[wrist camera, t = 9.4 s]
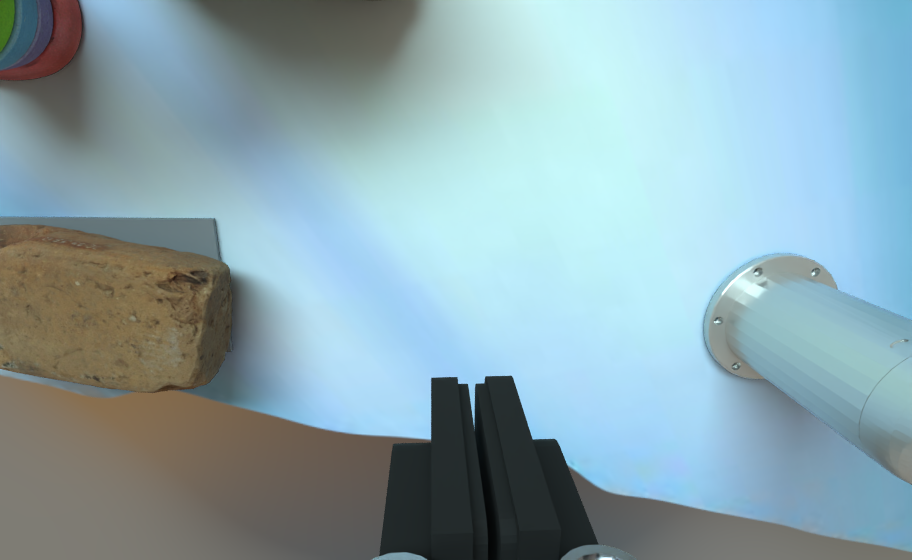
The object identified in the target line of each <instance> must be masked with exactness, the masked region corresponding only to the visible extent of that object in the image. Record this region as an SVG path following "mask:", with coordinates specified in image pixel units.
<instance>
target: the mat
mask: <svg viewBox="0 0 912 560" xmlns="http://www.w3.org/2000/svg"><path fill="white" fill-rule="evenodd" d="M13 224H18V225H21V224H30V225H46V226H53V227H60V228H66V229H73V230H80V231H83V232H86V233H94V234H100V235H104V236H108V237H112V238H115V239H119V240H121V241H125V242H131V243H137V244H143V245H150V246H158V247H165V248H169V249H172V250H176V251H180V252H192V253H195V254H200V255H204V256H207V257H210V258H213V259H216V260H219V261H221V260H220V253H219V246H218V238H217V231H216V224H215V218H98V217H0V225H13ZM232 350H233V347H232V340H231V336H230V341H229V346H228V350H227V351H226V352H232Z"/></svg>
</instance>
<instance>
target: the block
mask: <svg viewBox="0 0 912 560" xmlns="http://www.w3.org/2000/svg"><path fill="white" fill-rule="evenodd" d="M230 282H231V278H230V269H229V267H228V265H226V264H225V263H223V262H221V261H219V260H216V259H213V258H210V257H207V256H204V255H200V254H195V253H192V252H180V251H176V250H172V249H169V248H165V247H158V246H150V245H143V244H137V243H131V242H125V241H121V240H119V239H115V238H112V237H108V236H104V235H100V234H94V233H86V232H83V231H80V230H73V229H66V228H60V227H53V226H46V225H30V224H21V225H18V224H13V225H0V369H3V370H8V371H12V372H17V373H23V374H28V375H33V376H39V377H44V378H50V379H56V380H63V381H69V382H74V383H80V384H86V385H92V386H97V387H102V388H109V389H121V390H129V391H134V392H148V393H155V392H160V391H168V390H183V389H194V388H196V387H198V386H201V385H206V384H208V383H209V382H210V381H211V380H212V379H213V377H214V376H215V375H216V374H217V372H218V371H219V368H220V366H221V364H222V363H223V361H224V360H225V353H226V351H227V350H228V346H229V341H230V336H231V328H232V316H231V314H232V306H231V305H232V292H231V289H230V286H229V284H230Z"/></svg>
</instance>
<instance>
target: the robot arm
mask: <svg viewBox="0 0 912 560" xmlns="http://www.w3.org/2000/svg"><path fill="white" fill-rule="evenodd" d="M704 336H705V342H706V345H707V347H708V350H709V352H710V354H711V355H712V356H713V358H714V359H715V360H716V361H717V362H718V363H719V364H720V365H721V366H722V367H723V368H725V369H726V370H728V371H729V372H730V373H732V374H735V375H737V376H740V377H743V378H749V379H767V380H768V381H769V382H771V383H772V384H773V385H775V386H776V387H777V388H779V389H780V390H781V391H782V392H784V393H785V394H786V395H788V396H789V397H790V398H792V399H793V400H794V401H796V402H797V403H798V404H800V405H801V406H802V407H804V408H805V409H806V410H808V411H809V412H810V413H812V414H813V415H814V416H816V417H817V418H818V419H820V420H821V421H822V422H824V423H825V424H826V425H828V426H829V427H830V428H831V429H833V430H834V431H835V432H837V433H838V434H839V435H841V436H842V437H843V438H845V439H846V440H847V441H849V442H850V443H851V444H853V445H854V446H855V447H857V448H858V449H859V450H861V451H862V452H863V453H865V454H866V455H867V456H869V457H870V458H872V459H873V460H874V461H876V462H877V463H878V464H880V465H881V466H882V467H884V468H885V469H886V470H888V471H889V472H890V473H892V474H893V475H895V476H897V477H898V478H900V479H901V480H903V481H905V482H907V483H909V484H911V485H912V320H910V319H908V318H905V317H903V316H900V315H898V314H895V313H893V312H891V311H888V310H886V309H883V308H881V307H878V306H876V305H874V304H871V303H869V302H866V301H864V300H861V299H859V298H856V297H854V296H852V295H849V294H847V293H844V292H842V291H839V290H838V288H837V285H836V282H835V281H834V279H833V277H832V275H831V274H830V273H829V272H828V271H827V270H826V269H825V268H824V267H823V266H822V265H820V264H819V263H817V262H815V261H814V260H811V259H809V258H806V257H803V256H800V255H795V254H790V253H777V254H772V255H767V256H763V257H760V258H758V259H755V260H752V261H750V262H749V263H747V264H745V265H743V266H742V267H740V268H739V269H737V270H736V271H735V272H734V273H732V274H731V275H730V276H729V277H728V278H727V279H726V280H725V281H724V282H723V283H722V284H721V285H720V287H719V288H718V290H717V291H716V293H715V294H714V296H713V297H712V299H711V302H710V304H709V306H708V308H707V312H706V316H705V320H704ZM372 560H637V559H636V558H635V557H634V556H632V555H630V554H628V553H626V552H624V551H621V550H619V549H617V548H613V547H609V546H604V545H599V544H598V542H597V539H596V537H595V534H594V532H593V529H592V527H591V524H590V522H589V519H588V517H587V514H586V512H585V509H584V506H583V504H582V501H581V499H580V496H579V494H578V491H577V489H576V486H575V484H574V481H573V479H572V477H571V474H570V471H569V469H568V466H567V464H566V461H565V459H564V456H563V453H562V451H561V448H560V446H559V444H558V442H557V441H556V440H555V439H536V440H532V436H531V433H530V430H529V427H528V424H527V421H526V418H525V414H524V411H523V408H522V405H521V402H520V399H519V396H518V392H517V389H516V386H515V383H514V380H513V377H512V376H486V377H485V384H476V385H475V432H474V425H473V417H472V410H471V403H470V396H469V389H468V384H458V379H457V377H443V378H431V443H401V444H393V449H392V456H391V465H390V472H389V480H388V489H387V497H386V506H385V514H384V522H383V530H382V538H381V547H380V555H379V557H376V558H374V559H372Z"/></svg>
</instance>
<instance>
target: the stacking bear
mask: <svg viewBox="0 0 912 560" xmlns="http://www.w3.org/2000/svg"><path fill="white" fill-rule="evenodd" d="M81 32H82V20H81V12H80V8H79V4H78V1H77V0H0V79H2V80H29V79H36V78H40V77H44V76H48V75H51V74H53V73H56V72H57V71H59V70H61V69H62V68H63V67H64V66H66V65H67V64H68V63H69V62H70V60H71V59H72V58H73V56H74V55H75V53H76V51H77V49H78V46H79V43H80V39H81Z"/></svg>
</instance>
